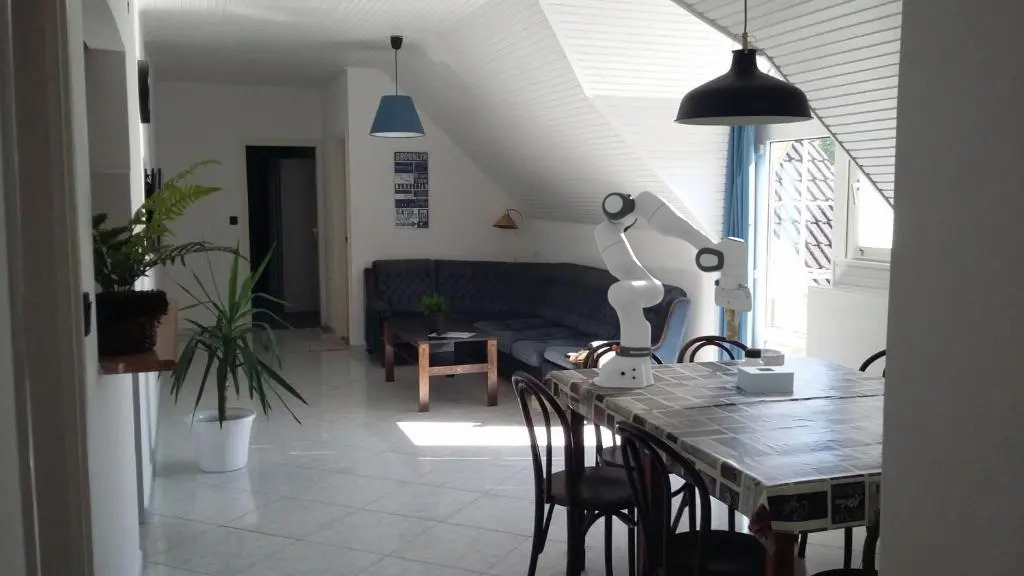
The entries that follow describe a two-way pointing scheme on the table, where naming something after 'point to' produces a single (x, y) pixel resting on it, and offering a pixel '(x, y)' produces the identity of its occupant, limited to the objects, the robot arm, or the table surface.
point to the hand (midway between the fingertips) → (732, 321)
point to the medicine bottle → (752, 358)
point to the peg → (731, 325)
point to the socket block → (765, 379)
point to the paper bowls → (772, 357)
